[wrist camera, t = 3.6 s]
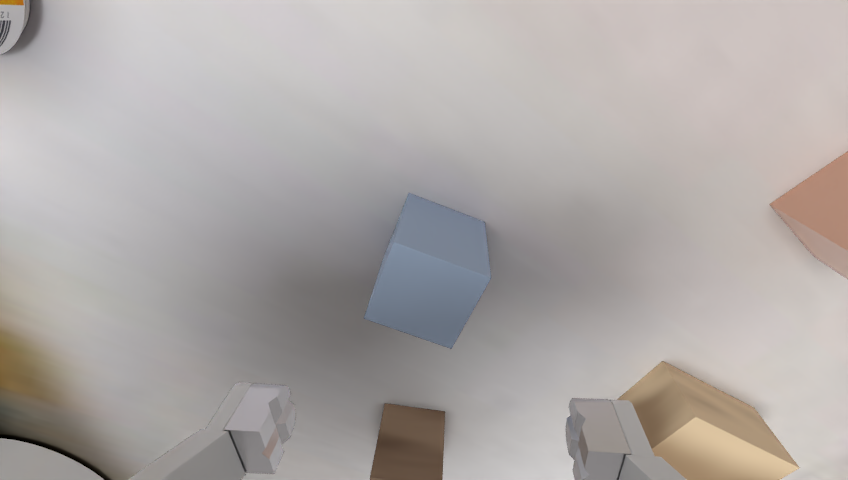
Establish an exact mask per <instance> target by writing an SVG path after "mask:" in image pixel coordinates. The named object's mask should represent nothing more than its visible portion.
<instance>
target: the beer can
mask: <svg viewBox="0 0 848 480" xmlns="http://www.w3.org/2000/svg"><path fill="white" fill-rule="evenodd" d="M29 11H30V0H0V55H1V54H3V53H5V52H7V51H8V50H10V49H11V48H12V47H13V46H14V45H15V44H16V42H17V40H18V39H19V37H20V35H21V32H22V31H23V30H24V28H25V26H26V24H27V21H28V17H29Z"/></svg>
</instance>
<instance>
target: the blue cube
mask: <svg viewBox="0 0 848 480" xmlns="http://www.w3.org/2000/svg"><path fill="white" fill-rule="evenodd" d="M490 279H491V271H490V263H489V254H488V245H487V237H486V228H485V222H484V221H481V220H478V219H476V218H473V217H470V216H468V215H465V214H463V213H460V212H457V211H455V210H452V209H450V208H447V207H444V206H442V205H439V204H437V203H434V202H431V201H429V200H426V199H424V198H421V197H418V196H416V195H413V194H411V193H409V194H408V196H407V199H406V201H405V204H404V206H403V209H402V212H401V214H400V217H399V219H398V222H397V224H396V227H395V229H394V232H393V235H392V237H391V240H390V242H389V245H388V247H387V250H386V253H385V255H384V258H383V261H382V264H381V267H380V270H379V273H378V276H377V279H376V282H375V285H374V288H373V291H372V294H371V298H370V301H369V304H368V307H367V310H366V313H365V316H364V319H367V320H370V321H372V322H375V323H378V324H381V325H384V326H387V327H390V328H393V329H396V330H398V331H401V332H404V333H407V334H410V335H413V336H416V337H419V338H422V339H424V340H427V341H430V342H433V343H436V344H439V345H442V346H445V347H448V348H450V349H452V347H453V345H454V343H455V341H456V340H457V338H458V336H459V334H460V333H461V331H462V329H463V327H464V325H465V324H466V322H467V320H468V318H469V317H470V315H471V313H472V311H473V310H474V308H475V306H476V304H477V302H478V301H479V299H480V297H481V295H482V294H483V292H484V290H485V288H486V286H487V285H488V283H489V281H490Z"/></svg>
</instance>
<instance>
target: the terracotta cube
mask: <svg viewBox="0 0 848 480" xmlns="http://www.w3.org/2000/svg"><path fill="white" fill-rule="evenodd" d="M770 206H771V207H772V208H773V209H774V210H775V212H776V213H777V214H778V215H779V216H780V217H781V219H782V220H783V221H784V222H785V223H786V224H787V226H788V227H789V228H790V229H791V230H792V232H793V233H794V234H795V235H796V236H797V237H798V239H799V240H800V241H801V242H802V243H803V244H804V246H805V247H806V248H807V249H808V250H809V252H810V253H811V254H812V255H813V256H814V257H815V258H817V259H818V260H820V261H821V262H823V263H824V264H826V265H827V266H829V267H830V268H832V269H833V270H835V271H836V272H837V273H839V274H840V275H842V276H843V277H845V278H846V279H848V151H847V152H846V153H844V154H843V155H842V156H840V157H839V158H837V159H836V160H834V161H833V162H831V163H830V164H828V165H827V166H825V167H824V168H822V169H821V170H819V171H818V172H816V173H815V174H814V175H812V176H811V177H809V178H808V179H806V180H805V181H803V182H802V183H800V184H799V185H797V186H796V187H794V188H793V189H791V190H790V191H788V192H787V193H785V194H784V195H783V196H781V197H780V198H778V199H777V200H775V201H774V202H772V203H771V204H770Z"/></svg>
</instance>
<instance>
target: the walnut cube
mask: <svg viewBox="0 0 848 480" xmlns="http://www.w3.org/2000/svg"><path fill="white" fill-rule="evenodd" d="M444 425H445V412H444V411H437V410H430V409H422V408H415V407H408V406H400V405H393V404H386V403H385V405H384V410H383V415H382V420H381V425H380V430H379V435H378V440H377V445H376V450H375V455H374V460H373V465H372V470H371V475H370V480H442V475H443V450H444Z"/></svg>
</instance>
